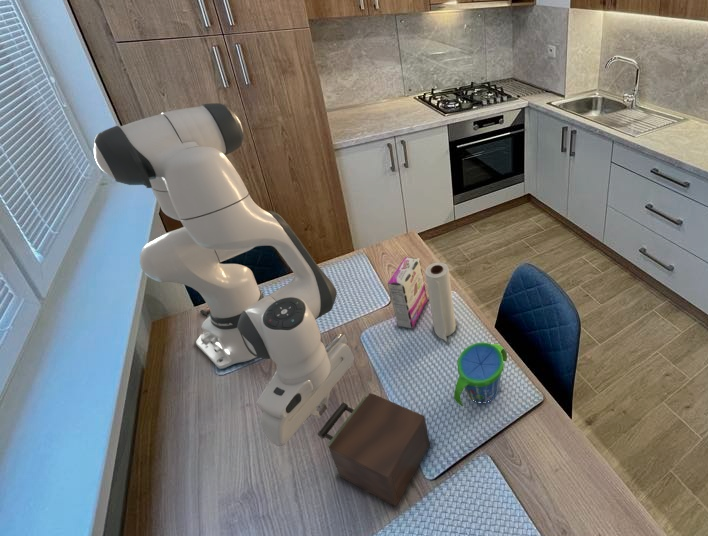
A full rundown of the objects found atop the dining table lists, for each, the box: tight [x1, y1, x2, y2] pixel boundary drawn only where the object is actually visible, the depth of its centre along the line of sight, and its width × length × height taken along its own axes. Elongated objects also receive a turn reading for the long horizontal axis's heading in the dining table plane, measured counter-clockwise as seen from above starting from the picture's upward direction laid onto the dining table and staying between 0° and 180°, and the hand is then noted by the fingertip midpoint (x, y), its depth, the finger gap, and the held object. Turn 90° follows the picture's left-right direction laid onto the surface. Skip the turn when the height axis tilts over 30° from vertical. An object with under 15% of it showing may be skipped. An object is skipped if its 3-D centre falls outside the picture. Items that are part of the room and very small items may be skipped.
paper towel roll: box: [424, 261, 457, 343], centre depth 108 cm, size 7×6×21 cm
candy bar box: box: [387, 256, 428, 329], centre depth 115 cm, size 11×5×16 cm, turn 168°
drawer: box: [317, 395, 367, 467], centre depth 83 cm, size 18×11×8 cm, turn 68°
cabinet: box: [328, 392, 431, 508], centre depth 81 cm, size 14×12×10 cm
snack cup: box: [453, 342, 508, 407], centre depth 94 cm, size 16×10×10 cm
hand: (321, 412), depth 87 cm, fingers closed
